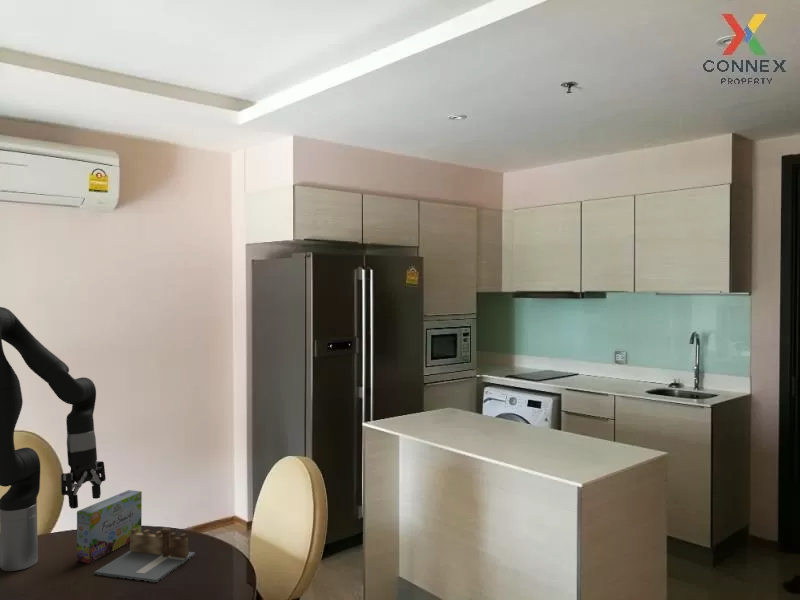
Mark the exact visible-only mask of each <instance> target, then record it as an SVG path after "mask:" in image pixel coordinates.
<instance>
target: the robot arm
mask: <svg viewBox="0 0 800 600" xmlns="http://www.w3.org/2000/svg"><path fill="white" fill-rule="evenodd" d="M3 341H4V342H6V343H7V344H9V345H10V346H12V347H13V348H14V349H15V350H16V351H17V352H18V353H19V355H21V358H22V359H23V361H24V363H25V364H26V366H27V367H28V368H29V369H30V370H31V371H32V372H33V373H34V374H36V375H37V376H38V377H39V378H41V380H43V381H44V382H45V383H47V384H48V386H49V388H50V389H51V390H52V392H53V394H55V395H56V397H58V399H60V401H62V402H64V403H65V404H68V405H71V410H70V412H69V413H68V414H67V415H66V419H65V421H66V451H67V464H68V466H69V468H70V472H67V473H61V474H60V484H61V485H60V486H61V495H62V496H67V497H68V507H69V508H70V509H77V508H79V500H78V494H77V493H78V491H79V489H80V488H81V487H83V486H82V485H83V484H85V483H87V482H90V484H91V493H92V496H91V497H92V499H95V500H96V499H100V498H101V494H102V493H101V491H102V490H101V485H102V483H103V482H105V481H106V479H107V477H106V471H105V462H104V461H100V460H99V461H98V452H97V451H98V450H97V439H96V433H95V421H94V411H95V407H96V400H97V389H96V385H95V383H94V382H93V381H94V380H92V379H90V378H88V377H84V376H83V377H78V378H74V377H73V376H72V375H71V374H70V373H69V372H70V368H69V366H68V365H67V364H66V363H65V362H64V361H62V360H61V359H60V358H59V357H58V356H57V355H55V354H54V353H53V352H51V351H50V350H49V349H48V348H47V347H45V346H44V345H43V344H42V343H41V342H40V341H39V340H38V339H37V338H36V337H35V336H34V335H33V334H32V332H30V331H29V330H28V329H27V327H26V326H25V325H24V324H23V322H21V320H20V319H18V317H17V316H16V315H15V314H14V313H13V312H12V311H11V310H10V309H9V308H6V307H4V306H3V307H2V306H0V486H1V487H9V488H8V490H7V491H6V492H5V493H3V495H2V496H1V497H0V570H2V571H5V572H15V571H21V570H24V569H28V568H31V567H32V566H34V565H36V564H37V563H38V561H39V554H38V551H39V550H38V548H39V545H38V541H39V540H38V504H37V503H38V502H37V501H38V499H37V498H38V495H39V493H40V488H41V461H40V460H41V459H40V456H39V454H38V453H37V452H36V450H35V449H33V448H31V447H22V448H17V449H16V448H15V447H16V446H15V437H14V436H15V428H16V425H17V423H18V421H19V418H20V415H21V412H22V408H23V403H24V401H23V394H22V393H23V392H22V387H21V383H20V379H19V377H18V375H17V373H16V372H15V370H14V368H13V367H12V365H11V363H10V362H9V361H8V358H7V357H6V354H5V352H4V348H3Z"/></svg>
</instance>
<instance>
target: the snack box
mask: <svg viewBox="0 0 800 600" xmlns="http://www.w3.org/2000/svg"><path fill="white" fill-rule="evenodd" d="M142 493H143V492H142V491H139V490H133V489H132V490H131V489H128V490H124V491H123V492H120V493H118V494H116V495H114V496H110V497H109V498H106V499H103V500H101V501H98V502H96V503H94V504H91V505H89V506H86V507H84V508H81V509H78V510H77V511H76V561H77V562H82V563H84V562H85V563H86V564H89V563H90V564H92V563H93V562H95V560H96V561H97V560H99V559H100V558H103V557H105V556H107V555H108V553H109V554H110V552H111V553H112V551H113V552H115V551H117V550H119V549H120V547H121V546H123V545H125V544H127V543H129V542H130V534H131V530H132V529H134V528H137V529H138V533H142V523H143V522H142V521H143V520H142V518H143V517H142V514H143V513H142V501H143V499H142V497H143V496H142V495H143V494H142ZM129 544H130V543H129ZM127 545H128V544H127ZM125 546H126V545H125ZM123 547H124V546H123ZM118 548H119V549H118ZM121 548H122V547H121ZM116 549H117V550H116ZM114 550H115V551H114ZM106 554H107V555H106Z"/></svg>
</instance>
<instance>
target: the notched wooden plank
mask: <svg viewBox="0 0 800 600" xmlns="http://www.w3.org/2000/svg"><path fill="white" fill-rule="evenodd" d="M160 531H161V532H162V539H163V557H167V556H175V557H183V558H186V557H188V556H189V552H190V551H189V537H188V534H187V533H185V532H183V533H182V534H180V536H177V532H175V531H174V532H171V531H172V529H171V528H170V527H163V528H161V529H160ZM170 532H171V533H170Z"/></svg>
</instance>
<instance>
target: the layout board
mask: <svg viewBox="0 0 800 600" xmlns="http://www.w3.org/2000/svg"><path fill="white" fill-rule="evenodd" d="M194 555H195V556H196V552H195V551H189V556H188V557H186V558H183V557H175V556H167V557H163V554H161V555H158V554H149V553H141V552H132V551H130V550H128V551H126V552H125V553H123V554H122V555H119V557H117V558H115V559H113V560H112V561H110V562H108V563H107V564H104V565H103V566H102V567H100V568H99V569H96V570H94V575H95V574H97V575H96V576H102V575H103V576H105V577H110V578H117V577H119V578H120V579H125V578H127V580H132V579H135V580H134V581H140V580H144V581H143V582H147V581H149V582H148V583H155V582H157V583H159V582H160V581H161V580H163V579H164V578H166V577H167V576H168V575H169V574H171V573H172V572H174V571H175V570H176V569H177V567H178V566H179V567H181V566H182V565H184V564H185V563H186V562H188V561H189V560H190V559H192V558H193V557H195V556H194ZM191 557H192V558H191ZM188 559H189V560H188ZM187 560H188V561H187ZM185 561H186V562H185ZM184 562H185V563H184ZM181 564H182V565H181ZM180 565H181V566H180ZM179 567H178V568H179ZM174 569H175V570H174ZM173 570H174V571H173ZM171 571H172V572H171ZM170 572H171V573H170ZM167 574H168V575H167ZM166 575H167V576H166ZM163 577H164V578H163ZM160 579H161V580H160ZM159 580H160V581H159Z"/></svg>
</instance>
